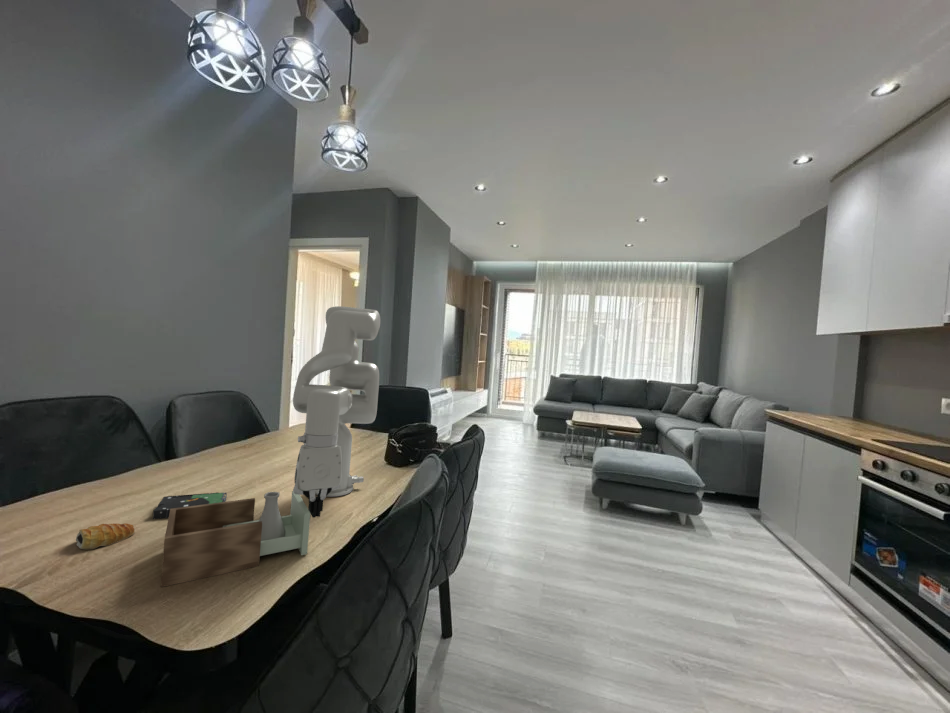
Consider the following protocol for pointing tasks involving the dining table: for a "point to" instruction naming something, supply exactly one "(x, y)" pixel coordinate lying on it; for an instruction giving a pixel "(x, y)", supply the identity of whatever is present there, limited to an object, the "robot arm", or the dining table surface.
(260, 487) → the dining table surface
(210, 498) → the disk drive
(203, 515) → the caddy
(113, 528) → the pastry
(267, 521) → the flask
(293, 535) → the tray
